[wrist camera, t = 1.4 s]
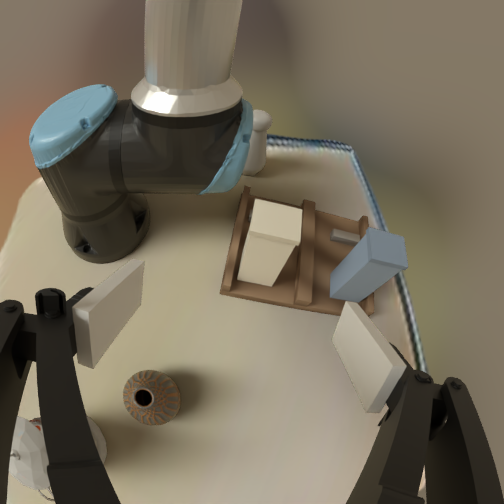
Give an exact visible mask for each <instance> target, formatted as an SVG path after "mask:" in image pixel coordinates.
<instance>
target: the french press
mask: <svg viewBox="0 0 504 504" xmlns="http://www.w3.org/2000/svg"><path fill="white" fill-rule="evenodd" d="M87 420H88V423H89V426H90V429H91V433H92V436H93V439H94V442H95V445H96V447H97V450H98V453H99V456H100V458H101V460H102V463H103V465H104V462H105V459H106V456H107V448H106V440H105V438H104V436H103V434H102V432H101V430H100V428H99V427H98V426H97V425H96V424H95V423H94V421H93V420H92V419H91V418H90V417H88V416H87ZM47 465H49V461H48V456H47V451H46V446H45V441H44V435H43V429H42V423H41V417H39V418H34V419H33V420H30V421H28V420H27V419H25V418H22V417H19V416H17V420H16V425H15V430H14V436H13V441H12V448H11V455H10V463H9V472H10V473H11V475H12V476H13V477H14V478H15V479H17V480H18V481H19V482H20V483H21V484H23V485H24V486H27V487H29V488H32V489H34V490H38V491H39V493H40V494H41V495H42V496H43V497H44V498H46V499H47V500H50V501H55V500H54V499H50V498H47V497H46V496H45V495H43V494H42V493H41V492H40V490H41V489H48V491H49V492H50V494H51V495H52V496H53V493H52V492H51V491H50V483H49V479H48V474H47Z"/></svg>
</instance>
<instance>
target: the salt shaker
mask: <svg viewBox="0 0 504 504" xmlns="http://www.w3.org/2000/svg"><path fill="white" fill-rule="evenodd" d="M271 124H272V117H271V116H270V115H269V114H268V113H267V112H265V111H263V110H253V130H252V135H251V138H250V140H249V141H250V148H249V153H248V157H247V160H246V164H245V167H244V170H243V172H242V174H243V175H248V176H254V175H255V174H256V173H257V172H259V171H260V170H262V169H263V167H264V165H265V164H266V139H267V130H268V129H269V128H270V126H271Z"/></svg>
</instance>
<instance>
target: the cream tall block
mask: <svg viewBox="0 0 504 504" xmlns="http://www.w3.org/2000/svg"><path fill="white" fill-rule="evenodd" d="M301 224H302V209H298V208H294V207H290V206H286V205H282V204H277V203H273V202H269V201H264V200H260V199H255V202H254V207H253V213H252V218H251V223H250V227H249V231H248V234H247V238H246V241H245V245H244V249H243V252H242V256H241V261H240V267H239V272H238V277H237V280H241V281H246V282H251V283H256V284H261V285H266V286H271V287H272V285H273V283H274V282H275V280H276V278H277V277H278V275H279V273H280V271H281V270H282V268H283V266H284V265H285V263H286V261H287V259H288V258H289V256H290V254H291V252H292V251H293V249H294V247H295V245H297V246H298V245H299V243H300V240H301Z"/></svg>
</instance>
